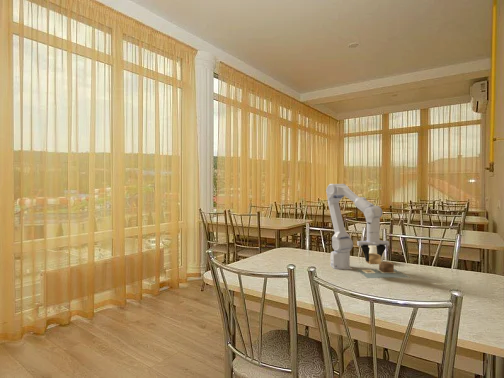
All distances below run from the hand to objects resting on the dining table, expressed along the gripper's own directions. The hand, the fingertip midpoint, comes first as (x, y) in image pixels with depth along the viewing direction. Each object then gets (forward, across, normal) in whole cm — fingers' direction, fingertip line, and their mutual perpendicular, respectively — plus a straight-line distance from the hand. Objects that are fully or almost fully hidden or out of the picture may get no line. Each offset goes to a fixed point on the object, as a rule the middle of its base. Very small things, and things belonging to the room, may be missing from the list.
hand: (373, 260), depth 152 cm
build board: (+8, +6, +4) cm, 11 cm away
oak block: (+1, 0, 0) cm, 1 cm away
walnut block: (+7, +10, +8) cm, 15 cm away
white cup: (+8, +13, +27) cm, 31 cm away
